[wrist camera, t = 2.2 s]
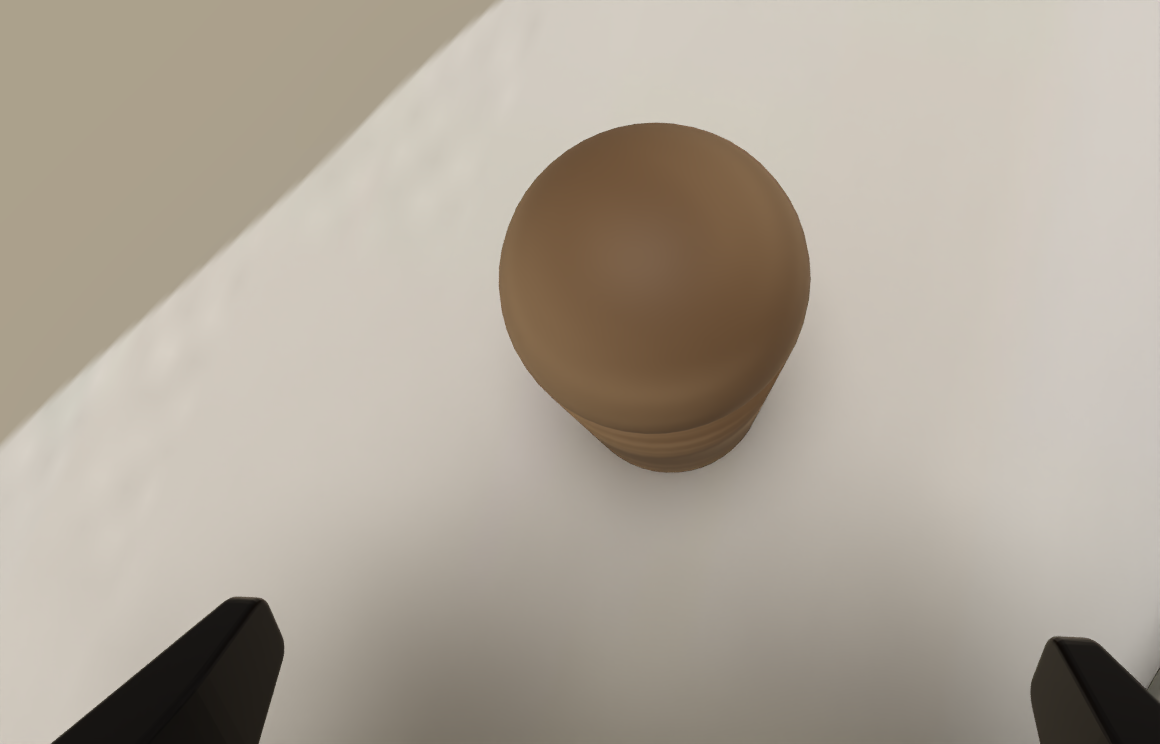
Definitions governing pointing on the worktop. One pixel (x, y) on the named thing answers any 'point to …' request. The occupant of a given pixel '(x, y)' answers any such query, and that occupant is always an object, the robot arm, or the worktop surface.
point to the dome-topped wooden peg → (656, 290)
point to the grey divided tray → (1155, 686)
